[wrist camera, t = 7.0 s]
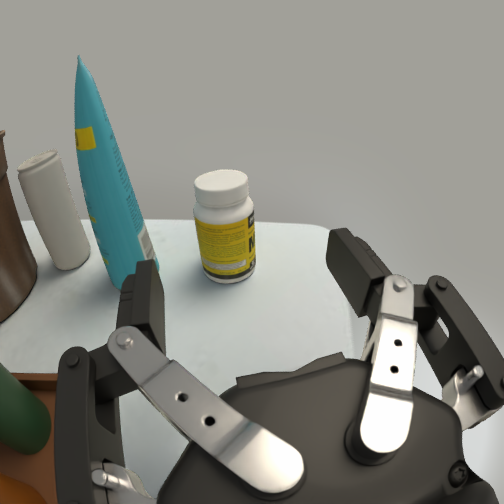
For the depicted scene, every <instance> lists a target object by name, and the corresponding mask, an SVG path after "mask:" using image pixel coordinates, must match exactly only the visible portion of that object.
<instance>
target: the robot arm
mask: <svg viewBox="0 0 504 504" xmlns="http://www.w3.org/2000/svg"><path fill="white" fill-rule="evenodd" d="M326 263H327V267H328V269H329V270H330V272H331V274H332V275H333V277H334V278H335V280H336V282H337V283H338V285H339V286H340V288H341V290H342V291H343V293H344V295H345V296H346V298H347V299H348V301H349V303H350V304H351V306H352V308H353V309H354V311H355V313H356V314H357V316H358V318H359V317H363V316H366V315H367V316H368V317H369V319H370V322H369V326H368V330H367V335H366V339H365V344H364V348H363V352H362V356H361V359H360V360H358V359H349V358H346V359H345V357H344V355H343V353H342V352H339V353H335V354H332V355H328V356H325V357H321V358H318V359H316V360H314V361H312V362H311V363H309V364H307V365H305V366H303V367H301V368H299V369H298V370H296V371H293V372H261V373H256V374H251V375H246V376H241V377H236V381H237V385H235V386H233V387H231V388H229V389H228V390H226V391H225V392H223V393H222V394H221V395H220V396H219V397H218V396H217V395H216V394H214V393H213V392H212V391H211V390H209V389H208V388H207V387H206V386H205V385H203V384H202V383H201V382H200V381H199V380H198V379H196V378H195V377H194V376H193V375H192V374H191V373H189V372H188V371H187V370H186V369H185V368H184V367H183V366H181V365H180V364H179V363H178V362H177V361H175V360H169V359H168V358H167V357H166V346H165V308H164V290H163V286H162V282H161V279H160V276H159V273H158V270H157V266H156V263H155V260H154V259H149V260H143V261H137V264H136V271H135V274H129V275H127V277H126V278H125V280H124V281H123V283H122V287H121V295H120V302H119V307H118V314H117V322H116V330H115V331H114V332H113V333H112V334H111V335H110V337H109V339H108V343H106V344H105V345H104V346H102V347H99V348H97V349H95V350H92V351H90V352H87V350H86V349H84V348H83V347H78V346H77V347H72V348H70V349H68V350H67V351H65V352H64V353H63V355H62V356H61V358H60V361H59V367H58V376H57V386H56V397H55V414H54V467H55V482H56V493H57V502H58V504H499V502H498V499H497V497H496V494H495V492H494V489H493V488H492V487H491V486H490V484H488V483H487V482H486V481H484V480H483V479H481V478H480V477H479V476H477V475H476V474H475V473H474V472H473V471H472V470H471V469H470V468H469V467H468V465H467V464H466V462H465V459H464V454H463V447H462V432H463V431H464V430H466V429H471V428H474V427H475V426H476V425H478V424H479V423H480V422H482V421H484V420H486V419H487V418H489V417H490V416H491V415H493V414H494V413H495V412H496V411H498V410H499V409H500V408H501V407H502V406H503V405H504V358H503V357H502V355H501V353H500V352H499V350H498V348H497V347H496V345H495V344H494V342H493V341H492V339H491V338H490V336H489V335H488V333H487V332H486V330H485V329H484V327H483V326H482V324H481V323H480V321H479V320H478V318H477V317H476V316H475V314H474V313H473V311H472V310H471V309H470V307H469V306H468V305H467V303H466V302H465V301H464V299H463V298H462V297H461V295H460V294H459V293H458V291H457V290H456V289H455V287H454V286H453V285H452V284H451V282H449V281H448V280H447V279H446V278H444V277H442V276H437V275H436V276H432V277H430V278H429V279H428V282H427V284H426V285H415V284H414V285H413V284H412V282H411V281H410V280H409V279H407V278H406V277H404V276H401V275H393V274H392V273H391V272H390V270H389V269H388V268H387V267H386V266H385V264H384V263H383V262H382V261H381V259H380V258H379V257H378V256H376V253H375V252H374V251H373V250H372V249H371V247H370V246H369V245H368V244H367V243H366V242H365V241H363V240H362V239H360V238H359V237H354V236H353V235H352V234H351V232H350V231H349V230H348V229H347V228H340V229H334V230H331V231H330V232H329V238H328V245H327V252H326ZM439 317H440V318H441V319H442V321H443V322H444V324H445V325H446V327H447V328H448V331H449V338H448V337H447V336H446V334H445V333H444V331H443V329H442V328H441V326H440V325H439V323H438V322H437V320H438V319H439ZM417 342H418V344H419V346H420V347H421V349H422V351H423V353H424V355H425V356H426V358H427V360H428V362H429V364H430V365H431V367H432V369H433V371H434V373H435V375H436V377H437V379H438V381H439V382H440V384H441V386H442V388H443V389H442V398H443V399H442V400H439V399H437V398H435V397H433V396H431V395H429V394H427V393H425V392H423V391H421V390H420V389H418V388H416V387H414V386H413V380H414V372H415V362H416V351H417V350H416V349H417ZM136 389H138V390H139V391H140V392H141V393H142V394H143V395H144V396H145V398H146V399H147V400H148V401H149V402H150V403H151V404H152V405H153V406H154V407H155V408H156V409H157V410H158V411H159V412H160V413H161V414H162V416H163V417H164V418H165V419H166V420H167V421H168V422H169V423H170V424H171V425H172V426H173V427H174V428H175V429H176V430H177V431H178V432H179V433H180V434H181V435H182V436H183V437H185V438H186V439H187V440H188V441H189V443H188V445H187V447H186V448H185V450H184V452H183V453H182V455H181V457H180V458H179V460H178V461H177V463H176V465H175V466H174V468H173V469H172V471H171V473H170V474H169V476H168V477H167V479H166V481H165V482H164V484H163V485H162V487H161V489H160V491H159V493H158V496H157V499H155V498H153V497H152V496H150V495H149V494H148V493H147V492H146V490H145V488H144V486H143V483H142V481H141V479H140V478H139V476H138V475H137V474H135V473H134V472H132V471H130V470H128V469H126V468H125V462H124V454H123V446H122V436H121V425H120V410H119V396H122V395H124V394H127V393H129V392H132V391H134V390H136Z"/></svg>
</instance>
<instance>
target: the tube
mask: <svg viewBox="0 0 504 504" xmlns="http://www.w3.org/2000/svg"><path fill="white" fill-rule="evenodd" d="M75 139H76V150H77V158H78V164H79V171H80V177H81V182H82V187H83V192H84V197H85V201H86V205H87V209H88V213H89V217H90V220H91V224H92V228H93V231H94V234H95V237H96V240H97V244H98V246H99V250H100V252H101V255H102V258H103V261H104V264H105V266H106V269H107V271H108V274H109V277H110V279H111V281H112V283H113V285H114V286H115V287H116V288H118V289H120V290H121V287H122V283H123V281H124V280H125V278H126V277H127V275H129V274H135V271H136V264H137V261H143V260H149V259H154V260H155V263H156V266H157V270H158V271H159V263H158V260H157V257H156V255H155V252H154V249H153V246H152V243H151V240H150V238H149V235H148V232H147V229H146V226H145V223H144V220H143V217H142V215H141V212H140V209H139V206H138V203H137V200H136V197H135V194H134V191H133V188H132V185H131V182H130V179H129V177H128V174H127V171H126V168H125V165H124V162H123V159H122V156H121V153H120V151H119V147H118V145H117V142H116V139H115V136H114V133H113V131H112V128H111V125H110V122H109V119H108V117H107V114H106V111H105V108H104V106H103V103H102V100H101V97H100V95H99V92H98V90H97V87H96V85H95V82H94V80H93V77H92V75H91V74H90V72H89V71H88V69H87V68H86V66H85V65H84V64H83V63H82V61H81V58H80V56H79V55H78V66H77V72H76V83H75Z"/></svg>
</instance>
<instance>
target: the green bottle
mask: <svg viewBox="0 0 504 504" xmlns="http://www.w3.org/2000/svg"><path fill="white" fill-rule="evenodd" d="M50 433H51V417H50V414H49V411H48V409H47V407H46V405H45V404H44V403H43V402H42V401H41V400H40V399H39V398H37V397H36V396H35V395H34V394H33V393H32V392H30V391H29V390H28V389H27V388H26V387H25V386H24V385H23V384H21V383H20V382H19V381H18V380H17V379H16V378H15V377H14V376H13V375H12V374H11V373H10V372H9V371H8V370H7V369H6V368H5V367H4V366H3V365H2V364H1V363H0V442H1V443H3V444H5V445H7V446H8V447H10V448H12V449H14V450H15V451H17V452H19V453H21V454H24V455H32V454H35V453H38V452H39V451H40V450H42V449H43V448H44V446H45V445H46V443H47V442H48V440H49V437H50Z"/></svg>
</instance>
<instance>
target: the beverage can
mask: <svg viewBox="0 0 504 504" xmlns="http://www.w3.org/2000/svg"><path fill="white" fill-rule="evenodd" d="M17 171H18V172H19V174H18V179H19V181H20V185H21V188H22V190H23V193H24V196H25V199H26V201H27V204H28V207H29V209H30V212H31V214H32V217H33V219H34V222H35V224H36V226H37V228H38V231H39V233H40V235H41V237H42V239H43V241H44V244H45V246H46V248H47V250H48V252H49V254H50V256H51V258H52V260H53V262H54V264H55V266H56V267H57V268H59V269H62V270H71V269H74V268H76V267H78V266H80V265H81V264H82V263H84V262H85V261H86V259H87V258H88V256H89V253H90V244H89V242H88V239H87V237H86V234H85V231H84V229H83V226H82V223H81V221H80V218H79V215H78V212H77V210H76V207H75V204H74V201H73V198H72V195H71V192H70V188H69V185H68V182H67V179H66V175H65V172H64V168H63V165H62V162H61V158H60V156H59V155H58V154H57V149H53V150H49V151H46V152H43V153H41V154H38V155H36V156H34V157H32V158H30V159H29V160H27V161H25V162H24V163H22V164H21V165H20V166H19V167H18V168H17Z"/></svg>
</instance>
